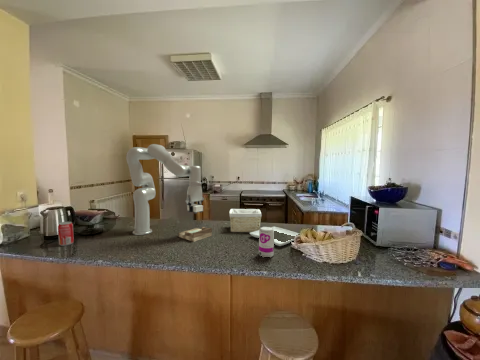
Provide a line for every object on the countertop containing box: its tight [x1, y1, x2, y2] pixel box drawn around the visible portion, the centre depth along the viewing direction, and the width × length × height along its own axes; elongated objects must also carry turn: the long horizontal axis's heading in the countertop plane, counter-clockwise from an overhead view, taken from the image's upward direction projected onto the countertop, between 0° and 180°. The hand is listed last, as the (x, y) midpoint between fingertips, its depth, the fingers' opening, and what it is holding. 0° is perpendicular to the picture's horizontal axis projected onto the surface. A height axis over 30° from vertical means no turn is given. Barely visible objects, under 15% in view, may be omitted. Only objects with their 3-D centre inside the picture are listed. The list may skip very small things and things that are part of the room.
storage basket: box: [228, 208, 262, 233], centre depth 170 cm, size 24×16×15 cm
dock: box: [177, 226, 213, 243], centre depth 153 cm, size 16×16×6 cm
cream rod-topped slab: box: [186, 202, 204, 215], centre depth 150 cm, size 10×6×6 cm, turn 52°
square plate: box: [249, 226, 300, 247], centre depth 151 cm, size 27×27×4 cm
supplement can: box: [258, 226, 275, 258], centre depth 123 cm, size 8×8×15 cm
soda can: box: [57, 221, 75, 247], centre depth 133 cm, size 7×7×13 cm
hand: (195, 210), depth 150 cm, fingers closed on cream rod-topped slab, 6 cm apart
